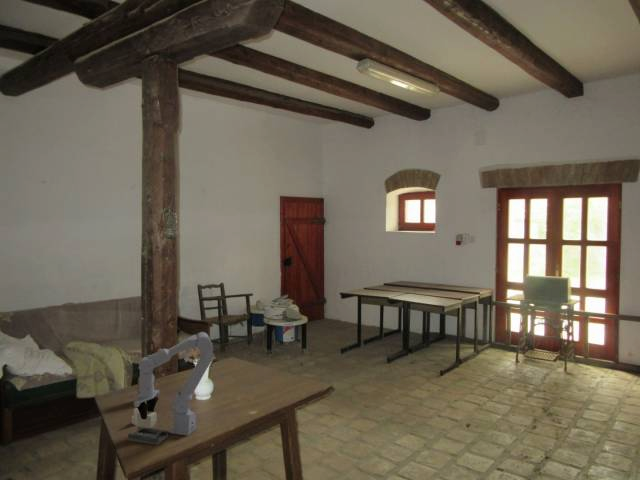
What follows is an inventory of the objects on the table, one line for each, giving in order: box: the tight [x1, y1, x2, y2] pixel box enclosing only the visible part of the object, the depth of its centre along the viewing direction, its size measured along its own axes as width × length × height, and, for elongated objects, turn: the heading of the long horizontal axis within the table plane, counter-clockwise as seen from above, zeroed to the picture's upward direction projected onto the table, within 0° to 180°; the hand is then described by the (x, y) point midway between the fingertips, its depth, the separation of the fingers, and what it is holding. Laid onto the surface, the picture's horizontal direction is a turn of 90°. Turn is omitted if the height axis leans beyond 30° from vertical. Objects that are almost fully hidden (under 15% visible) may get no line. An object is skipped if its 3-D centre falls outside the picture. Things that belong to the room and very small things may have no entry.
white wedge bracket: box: [131, 401, 146, 426], centre depth 219 cm, size 4×10×9 cm
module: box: [136, 411, 158, 428], centre depth 206 cm, size 7×4×5 cm, turn 73°
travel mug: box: [137, 366, 156, 396], centre depth 243 cm, size 8×8×18 cm
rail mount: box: [126, 426, 169, 446], centre depth 203 cm, size 15×7×3 cm, turn 74°
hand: (147, 416), depth 205 cm, fingers closed on module, 4 cm apart
